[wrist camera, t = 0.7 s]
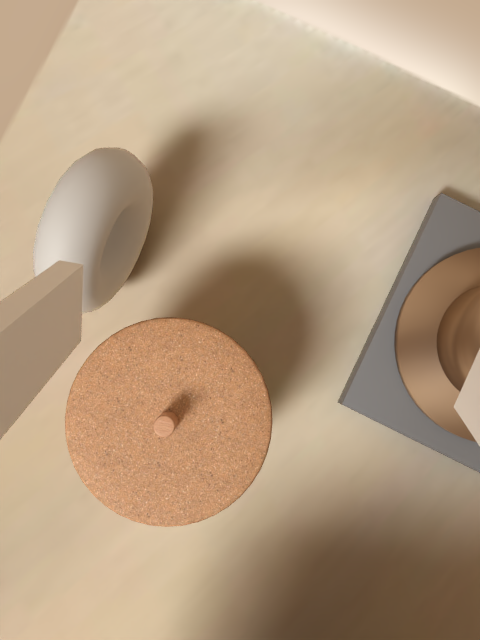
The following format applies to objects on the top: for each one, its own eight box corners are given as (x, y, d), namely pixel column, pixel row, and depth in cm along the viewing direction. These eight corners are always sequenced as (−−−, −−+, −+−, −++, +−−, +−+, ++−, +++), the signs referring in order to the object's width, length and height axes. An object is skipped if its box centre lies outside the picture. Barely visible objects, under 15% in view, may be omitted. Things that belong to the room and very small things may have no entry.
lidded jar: (247, 495, 31) (255, 559, 21) (91, 468, 31) (30, 520, 21) (274, 339, 31) (293, 335, 22) (121, 312, 31) (75, 296, 22)
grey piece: (126, 178, 32) (79, 100, 22) (171, 197, 32) (144, 128, 22) (67, 307, 31) (-10, 288, 21) (113, 327, 31) (58, 317, 21)
